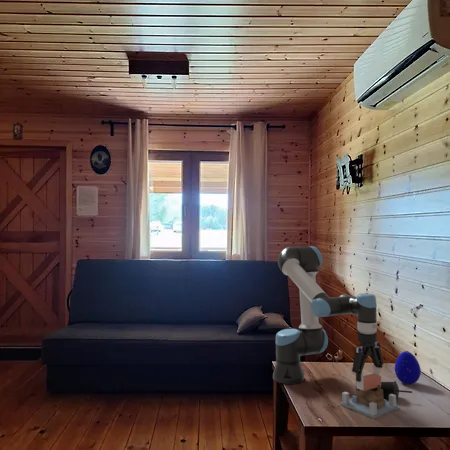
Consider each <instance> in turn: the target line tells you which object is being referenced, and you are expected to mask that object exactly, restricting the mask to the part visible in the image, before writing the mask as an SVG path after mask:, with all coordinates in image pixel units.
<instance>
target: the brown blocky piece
mask: <svg viewBox="0 0 450 450" xmlns="http://www.w3.org/2000/svg"><path fill="white" fill-rule="evenodd" d="M355 396H357V397H358V402H359V403H361V404H364V405H367V406H369V403H371V402H374V403H377V409H380V408H382V407H384V402H383V399H384V397H383V389H381V386H380V385H377V391H372V390H366V391H362V390H360V389H357V388H356V387H355Z"/></svg>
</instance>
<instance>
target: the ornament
mask: <svg viewBox="0 0 450 450" xmlns="http://www.w3.org/2000/svg"><path fill="white" fill-rule="evenodd" d="M419 363H420V362H419V361H418V359H417V357H416V356H415V355H414V354H413V353H412V352H410V351H408V350H404V351H402V352H401V353H400V354H398V356H397V358H396V360H395V363H394V373H395V376H396V378H397V380H399V381H400V382H401V383H403V384H406V385H413V384H415V383H417V382H418V380H420V377H421V374H422V372H421V365H420V364H419Z"/></svg>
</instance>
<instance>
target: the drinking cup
mask: <svg viewBox="0 0 450 450" xmlns="http://www.w3.org/2000/svg"><path fill="white" fill-rule="evenodd" d="M381 389H383V399H385V398H386V399H389V395H390V394H394V395H396V401H397V400H398V398H399V396H400V393H408V394H413V390H401V389H400V388H399V385H398V383H397V382H396V381H381ZM369 390H372V391H377V387H376V388H373V389H369Z"/></svg>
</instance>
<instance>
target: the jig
mask: <svg viewBox="0 0 450 450" xmlns="http://www.w3.org/2000/svg"><path fill="white" fill-rule="evenodd" d="M341 396H342V397H341V398H342V399H341V400H342V401H341V402H340V406H342V407H345V408H348V409H350V410H353V411H355V412H357V413H359V414H361V415H365V416H367V417H368V418H371V419H374V420H375V419H377V418H380V417H382V416H384V415H385V414H387V413H390V412H392V411H395V410H397V409H399V405H398V404H397V400H396V395H394V394H390V395H389V398H388V401H387V398H386V399H385V398H383V402H384V407H382V408H380V409H377V403H374V402H371V403H369V406H367V405H364V404H361V403H359V402H358V397H357V396H356V395H351V398H350V393H349V392H347V391H343V392H342V393H341Z"/></svg>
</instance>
